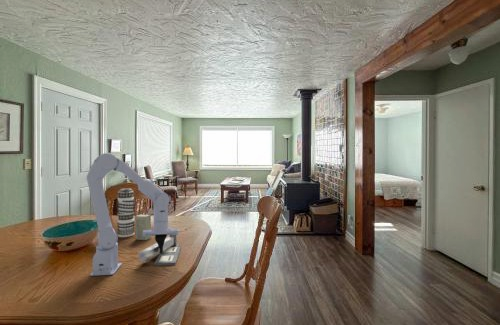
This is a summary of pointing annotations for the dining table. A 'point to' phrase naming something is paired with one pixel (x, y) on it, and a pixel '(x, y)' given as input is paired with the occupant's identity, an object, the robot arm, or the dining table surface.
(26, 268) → the dining table surface
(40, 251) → the dining table surface
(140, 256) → the swing arm
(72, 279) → the dining table surface
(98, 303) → the dining table surface
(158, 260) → the label board
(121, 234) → the decorative candle
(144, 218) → the skincare box
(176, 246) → the grey joystick
